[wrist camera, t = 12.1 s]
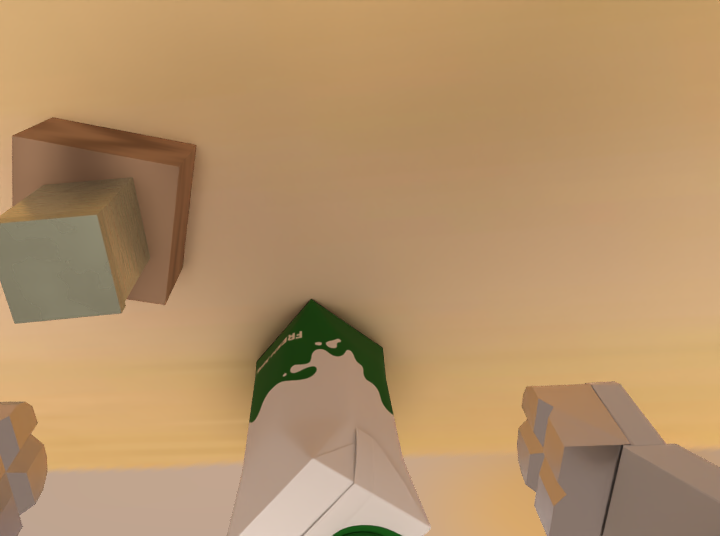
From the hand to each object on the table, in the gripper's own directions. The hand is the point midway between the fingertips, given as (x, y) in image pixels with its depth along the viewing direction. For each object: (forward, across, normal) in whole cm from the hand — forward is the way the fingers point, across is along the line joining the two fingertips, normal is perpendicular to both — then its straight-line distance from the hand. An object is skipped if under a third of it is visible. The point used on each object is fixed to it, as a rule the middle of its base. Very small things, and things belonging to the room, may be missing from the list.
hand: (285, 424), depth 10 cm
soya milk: (+32, 0, +19) cm, 37 cm away
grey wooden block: (+26, +13, +6) cm, 30 cm away
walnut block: (+32, +13, +6) cm, 35 cm away
